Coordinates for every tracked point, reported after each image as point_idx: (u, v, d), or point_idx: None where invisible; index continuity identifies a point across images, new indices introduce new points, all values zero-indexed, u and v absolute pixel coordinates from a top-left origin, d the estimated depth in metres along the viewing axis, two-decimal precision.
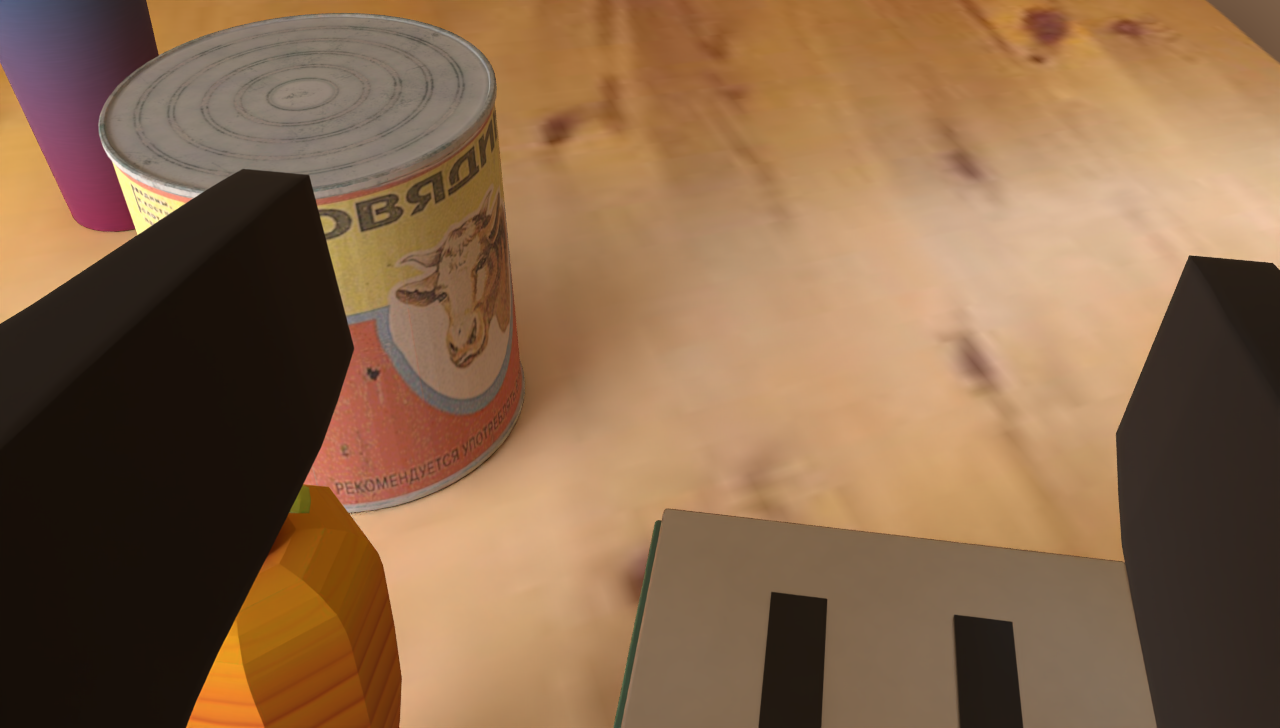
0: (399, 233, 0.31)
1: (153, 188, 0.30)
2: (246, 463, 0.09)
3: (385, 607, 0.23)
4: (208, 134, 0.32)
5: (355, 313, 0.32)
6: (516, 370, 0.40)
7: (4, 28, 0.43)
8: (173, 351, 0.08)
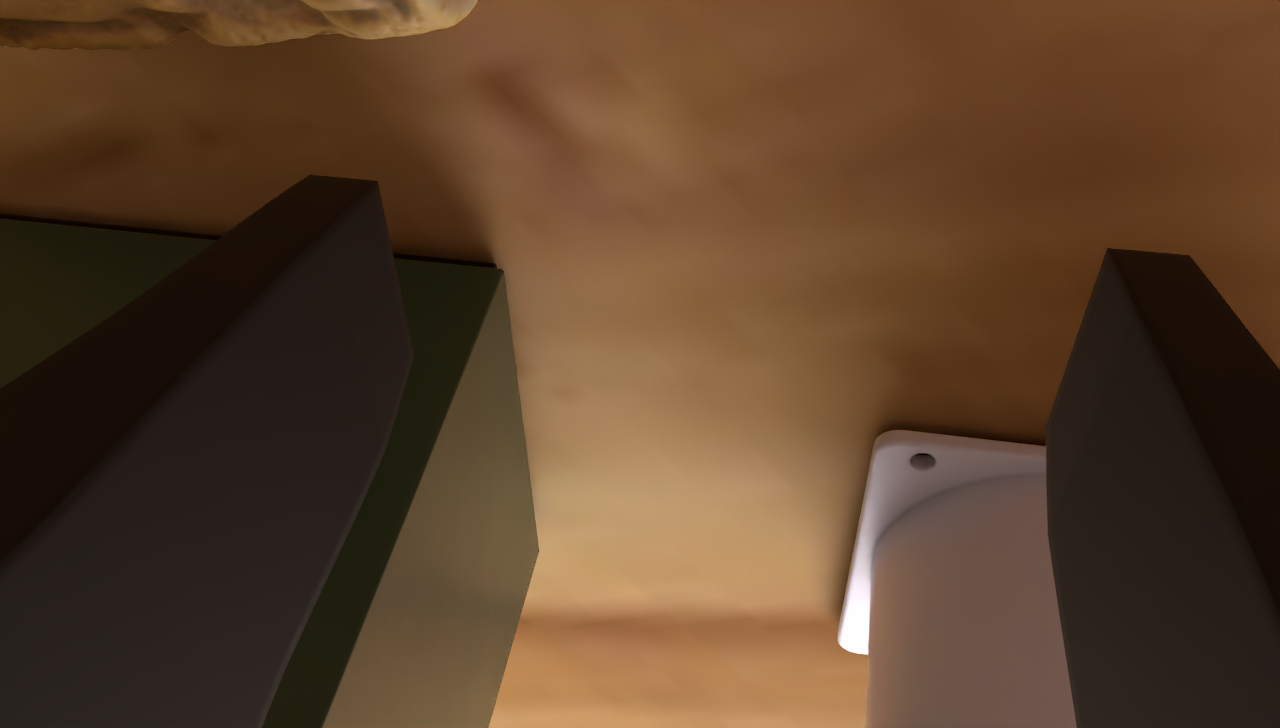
0: None
1: None
2: (317, 472, 0.09)
3: None
4: None
5: None
6: None
7: None
8: (254, 361, 0.08)
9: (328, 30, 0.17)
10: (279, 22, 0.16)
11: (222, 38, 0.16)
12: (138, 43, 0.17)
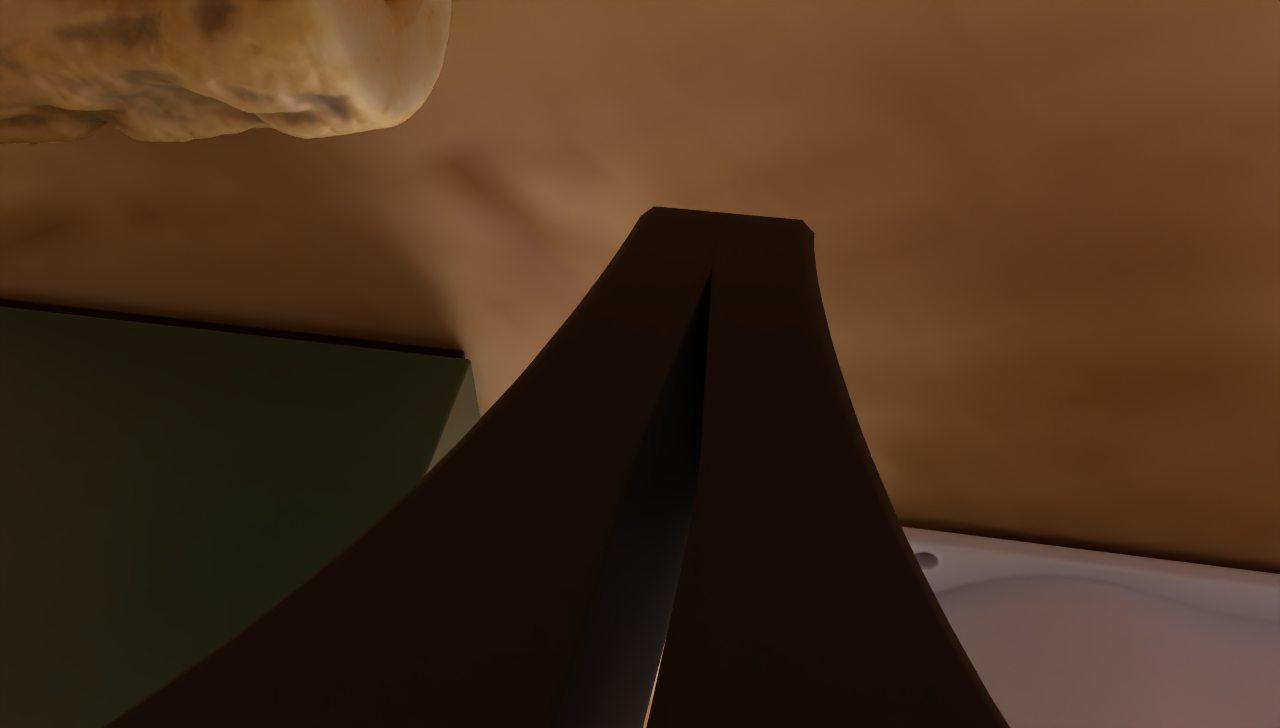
0: None
1: None
2: (678, 518, 0.09)
3: None
4: None
5: None
6: None
7: None
8: (670, 408, 0.08)
9: (264, 126, 0.15)
10: (208, 118, 0.15)
11: (145, 135, 0.15)
12: (54, 138, 0.15)
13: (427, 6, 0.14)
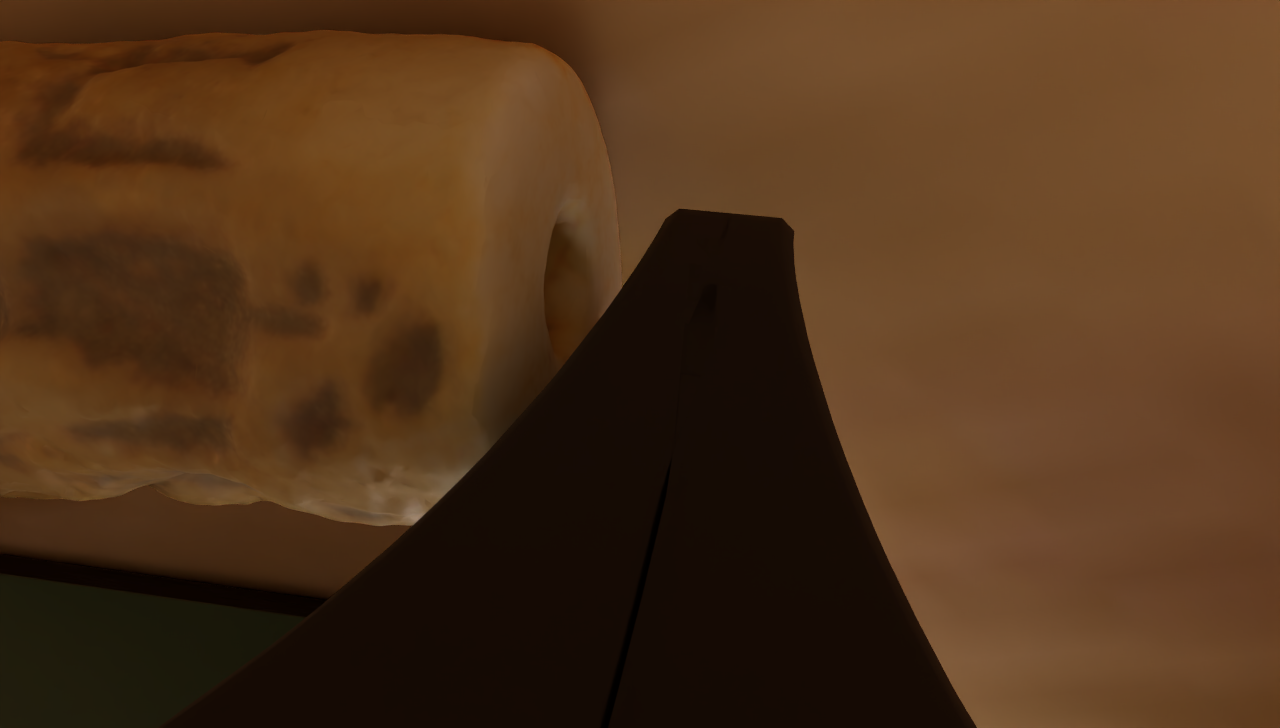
0: None
1: None
2: None
3: None
4: None
5: None
6: None
7: None
8: None
9: None
10: None
11: (195, 501, 0.10)
12: None
13: None
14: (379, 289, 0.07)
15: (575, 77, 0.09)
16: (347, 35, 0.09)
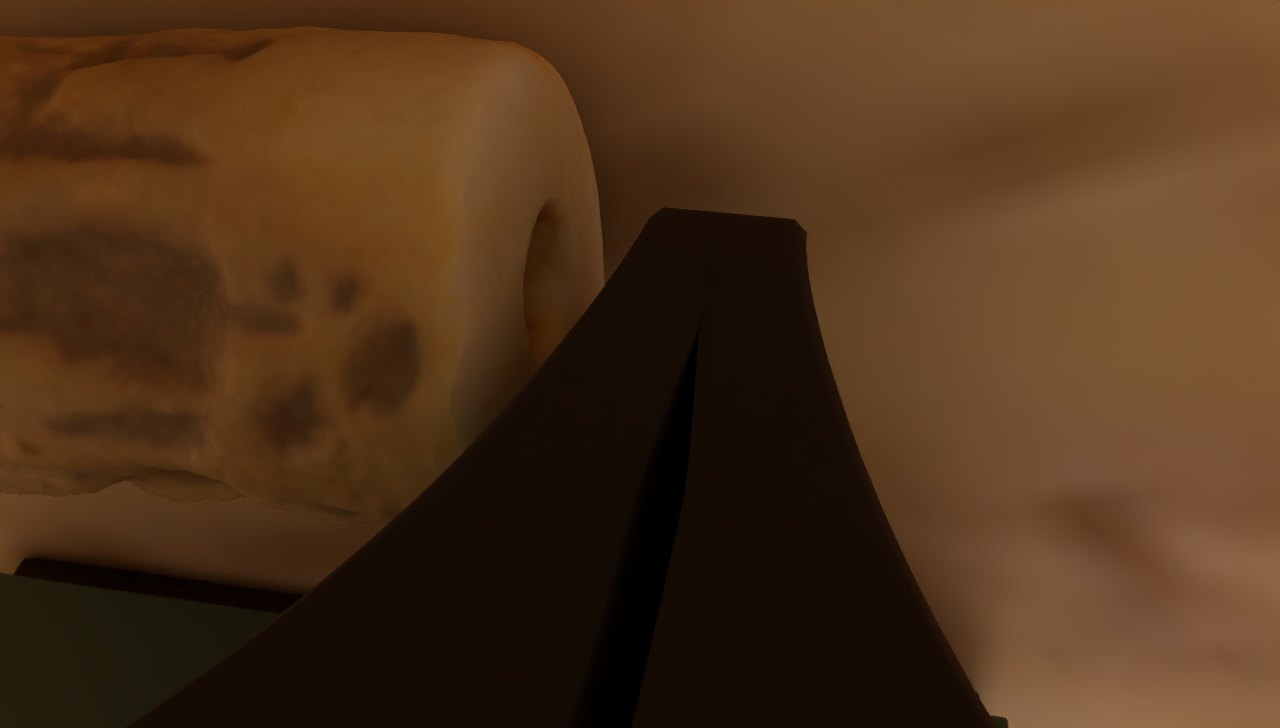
0: None
1: None
2: None
3: None
4: None
5: None
6: None
7: None
8: (683, 410, 0.08)
9: None
10: None
11: (175, 498, 0.10)
12: None
13: None
14: (358, 287, 0.07)
15: (557, 76, 0.09)
16: (328, 32, 0.09)
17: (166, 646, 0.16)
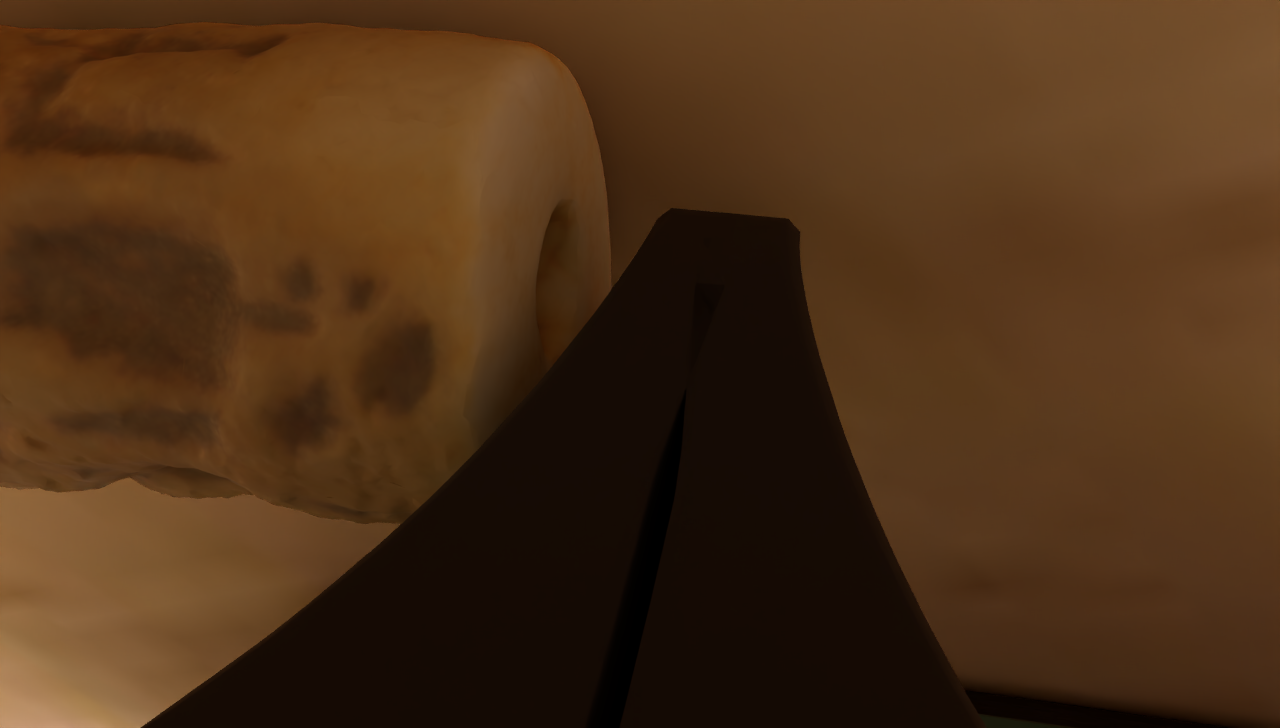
0: None
1: None
2: None
3: None
4: None
5: None
6: None
7: None
8: None
9: None
10: None
11: (177, 494, 0.10)
12: None
13: None
14: (373, 286, 0.07)
15: (571, 77, 0.09)
16: (342, 29, 0.09)
17: None
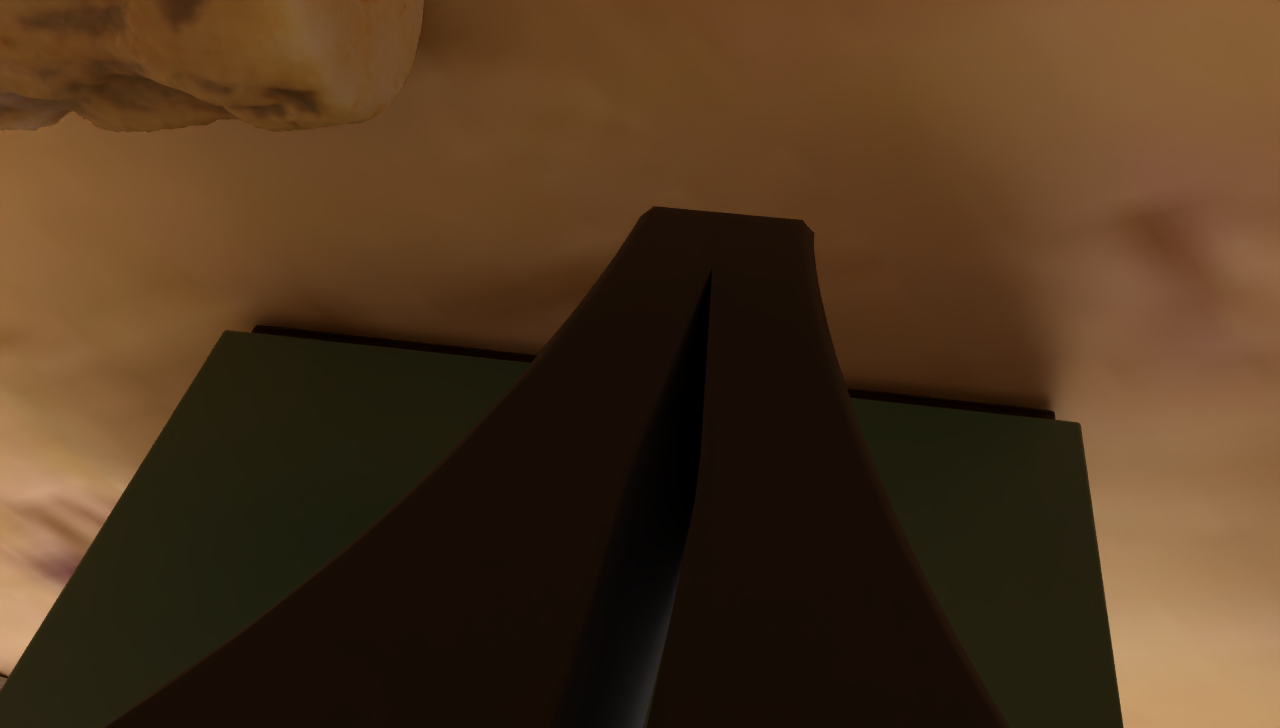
0: None
1: None
2: (678, 518, 0.09)
3: None
4: None
5: None
6: None
7: None
8: (670, 408, 0.08)
9: (233, 117, 0.15)
10: (175, 109, 0.14)
11: (111, 124, 0.15)
12: (18, 126, 0.15)
13: (399, 0, 0.14)
14: None
15: None
16: None
17: (389, 379, 0.20)
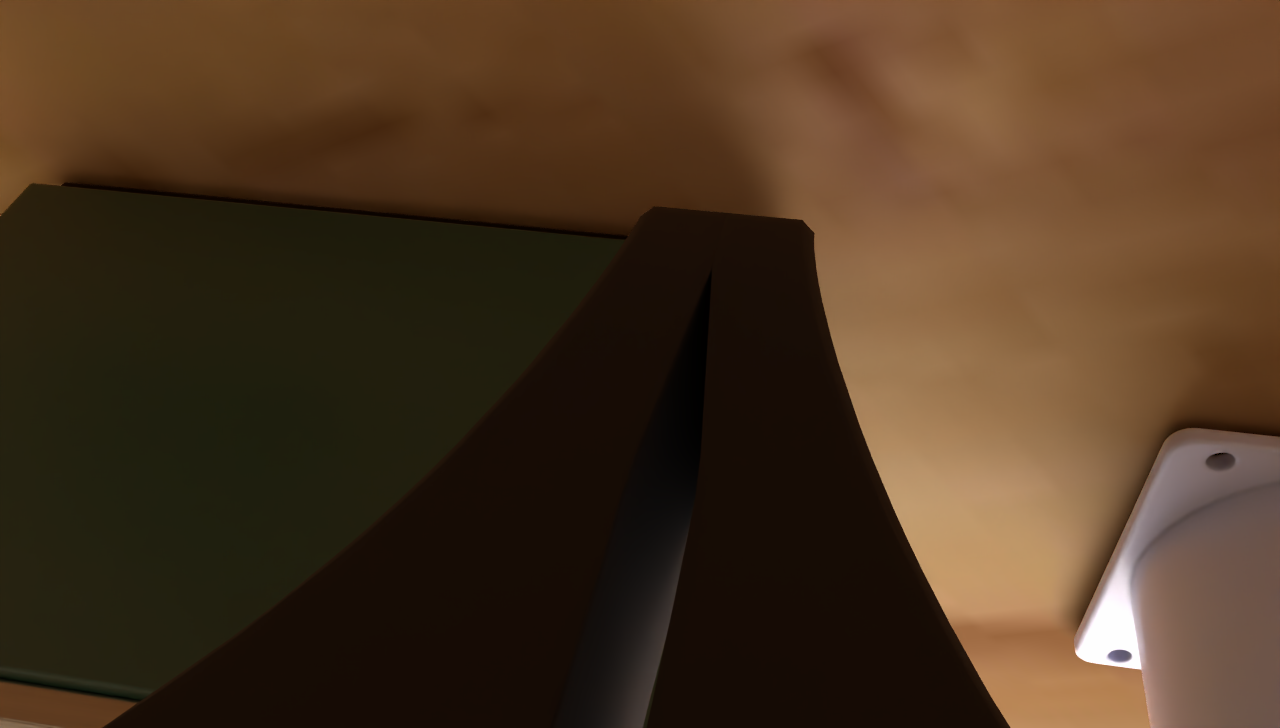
0: None
1: None
2: (678, 518, 0.09)
3: None
4: None
5: None
6: None
7: None
8: (670, 408, 0.08)
9: None
10: None
11: None
12: None
13: None
14: None
15: None
16: None
17: (173, 222, 0.21)
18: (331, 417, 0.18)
